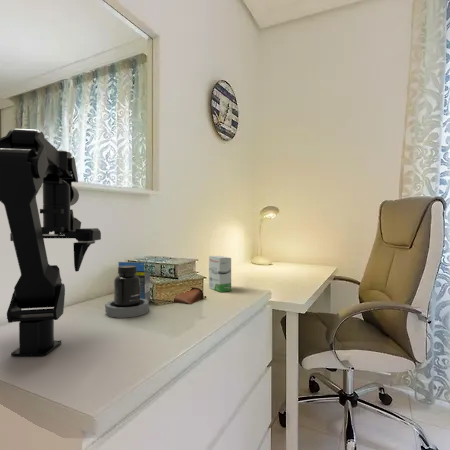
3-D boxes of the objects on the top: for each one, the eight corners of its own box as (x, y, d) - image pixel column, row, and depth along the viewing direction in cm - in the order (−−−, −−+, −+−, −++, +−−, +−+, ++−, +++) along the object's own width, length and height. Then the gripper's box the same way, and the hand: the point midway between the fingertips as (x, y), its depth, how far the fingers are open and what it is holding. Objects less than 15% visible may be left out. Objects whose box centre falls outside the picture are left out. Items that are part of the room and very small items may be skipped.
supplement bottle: (137, 313, 87) (137, 268, 87) (111, 314, 86) (111, 268, 86) (142, 306, 94) (141, 264, 93) (117, 307, 93) (117, 264, 93)
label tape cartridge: (150, 301, 102) (150, 261, 102) (144, 304, 98) (144, 262, 98) (125, 299, 104) (124, 260, 104) (118, 302, 100) (117, 261, 100)
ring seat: (142, 317, 85) (142, 308, 85) (99, 317, 85) (99, 308, 84) (152, 306, 96) (152, 297, 96) (113, 306, 96) (113, 298, 96)
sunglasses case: (140, 299, 104) (146, 279, 107) (151, 305, 109) (156, 286, 112) (192, 304, 97) (197, 283, 101) (200, 311, 103) (205, 290, 106)
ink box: (232, 291, 116) (232, 257, 116) (219, 292, 113) (219, 258, 113) (219, 286, 123) (219, 254, 123) (208, 287, 121) (208, 255, 121)
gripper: (108, 206, 86) (108, 266, 86) (36, 206, 85) (36, 266, 86) (91, 204, 74) (92, 273, 75) (8, 204, 74) (9, 273, 75)
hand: (57, 271), depth 78 cm, fingers open, 9 cm apart
